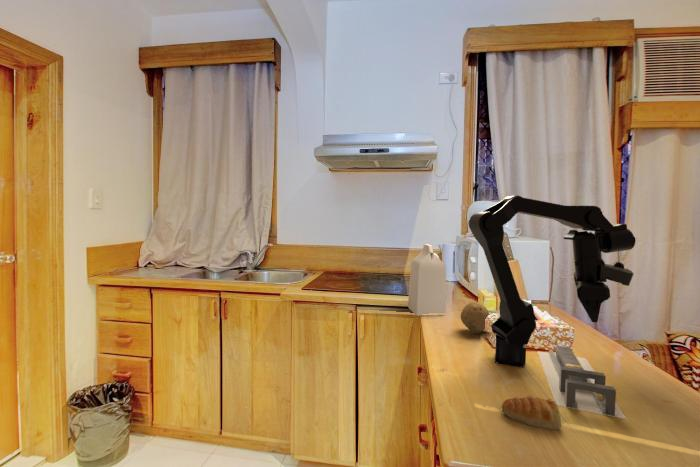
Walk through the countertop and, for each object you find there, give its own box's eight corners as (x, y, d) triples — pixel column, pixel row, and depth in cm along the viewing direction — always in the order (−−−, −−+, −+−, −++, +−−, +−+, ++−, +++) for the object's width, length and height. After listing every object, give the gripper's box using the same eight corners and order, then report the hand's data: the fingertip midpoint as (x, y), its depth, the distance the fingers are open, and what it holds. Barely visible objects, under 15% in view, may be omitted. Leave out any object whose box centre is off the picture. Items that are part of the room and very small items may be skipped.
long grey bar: (569, 386, 72) (570, 372, 72) (555, 356, 88) (556, 345, 88) (586, 389, 71) (587, 375, 71) (569, 358, 87) (569, 347, 87)
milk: (407, 307, 137) (409, 243, 136) (435, 306, 138) (436, 243, 137) (416, 315, 125) (418, 246, 124) (446, 315, 126) (448, 246, 125)
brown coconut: (453, 330, 109) (454, 299, 109) (473, 326, 114) (474, 297, 113) (475, 339, 101) (476, 306, 101) (495, 335, 105) (496, 303, 105)
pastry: (505, 424, 60) (506, 403, 60) (498, 404, 67) (499, 385, 67) (564, 433, 58) (565, 411, 58) (551, 411, 64) (552, 392, 64)
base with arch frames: (556, 408, 65) (557, 381, 65) (537, 353, 91) (538, 333, 91) (626, 422, 61) (628, 393, 61) (585, 360, 87) (586, 340, 87)
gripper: (636, 261, 73) (642, 331, 74) (622, 248, 88) (626, 306, 89) (574, 262, 79) (580, 328, 79) (571, 250, 94) (576, 304, 95)
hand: (592, 316), depth 86 cm, fingers open, 9 cm apart
